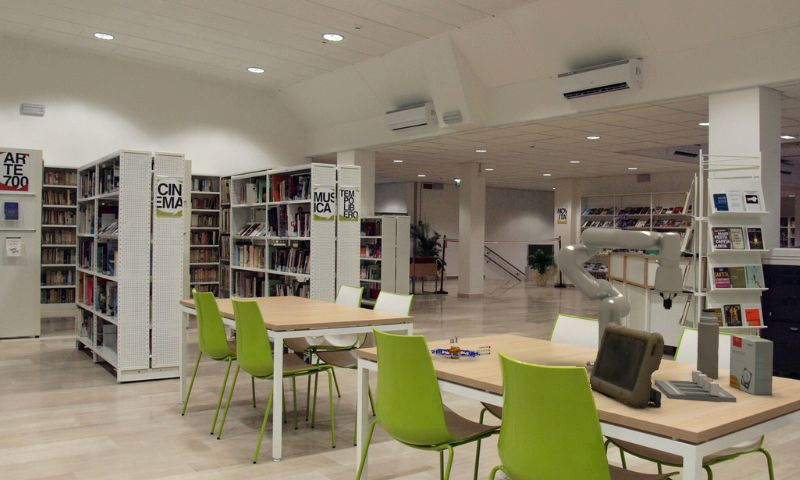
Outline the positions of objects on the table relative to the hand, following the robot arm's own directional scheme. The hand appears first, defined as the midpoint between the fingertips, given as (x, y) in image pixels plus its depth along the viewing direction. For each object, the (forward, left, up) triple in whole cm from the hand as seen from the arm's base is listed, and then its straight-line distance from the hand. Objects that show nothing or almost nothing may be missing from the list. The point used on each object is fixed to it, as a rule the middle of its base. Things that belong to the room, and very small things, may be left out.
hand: (667, 309), depth 260 cm
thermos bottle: (+19, +12, -29) cm, 37 cm away
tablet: (-22, -34, -29) cm, 49 cm away
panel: (+5, -20, -29) cm, 35 cm away
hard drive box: (+28, -10, -29) cm, 41 cm away
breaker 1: (+9, -9, -27) cm, 30 cm away
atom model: (-83, +30, -29) cm, 93 cm away
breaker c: (+9, -16, -27) cm, 32 cm away
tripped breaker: (+9, -23, -27) cm, 36 cm away
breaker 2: (+9, -30, -27) cm, 41 cm away
